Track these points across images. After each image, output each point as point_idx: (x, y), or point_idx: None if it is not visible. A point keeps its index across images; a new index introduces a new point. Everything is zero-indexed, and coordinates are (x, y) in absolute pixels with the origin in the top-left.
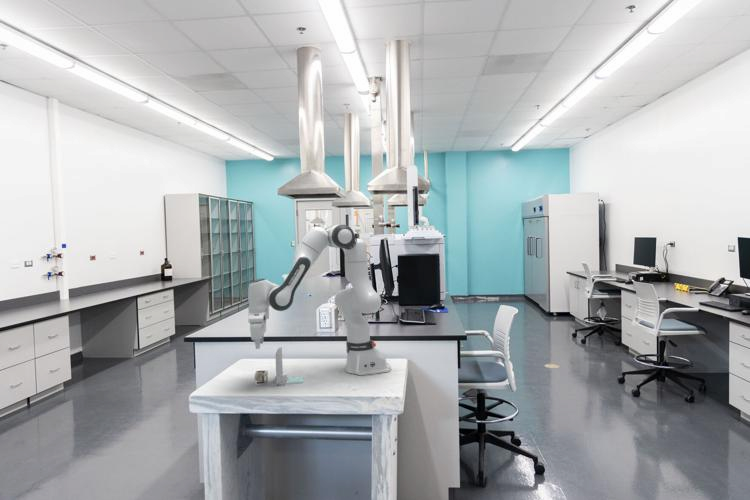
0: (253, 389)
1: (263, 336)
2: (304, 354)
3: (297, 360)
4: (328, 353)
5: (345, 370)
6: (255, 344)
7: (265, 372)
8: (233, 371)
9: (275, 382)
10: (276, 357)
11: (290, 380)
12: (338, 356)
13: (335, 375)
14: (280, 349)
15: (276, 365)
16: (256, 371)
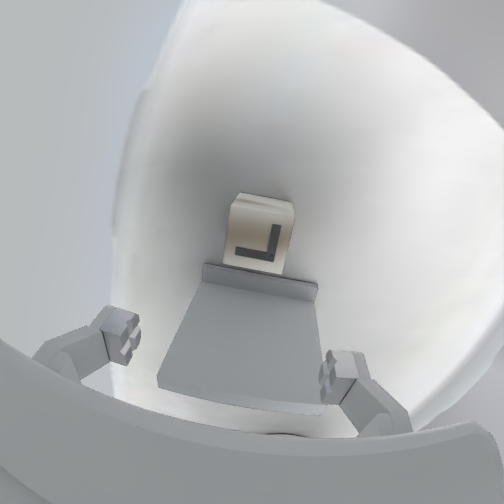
0: (190, 185)
1: (360, 428)
2: (484, 363)
3: (457, 351)
4: (446, 408)
5: (278, 435)
6: (80, 328)
7: (245, 262)
8: (474, 121)
9: (221, 279)
10: (163, 364)
11: None
12: None
13: (256, 417)
14: (268, 409)
15: (178, 333)
16: (282, 217)
